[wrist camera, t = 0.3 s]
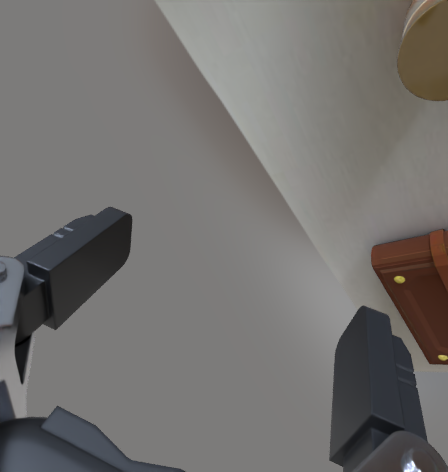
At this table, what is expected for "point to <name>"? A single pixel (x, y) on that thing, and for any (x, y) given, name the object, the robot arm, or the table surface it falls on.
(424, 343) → the book
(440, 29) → the honey jar
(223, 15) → the table surface
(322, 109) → the table surface
